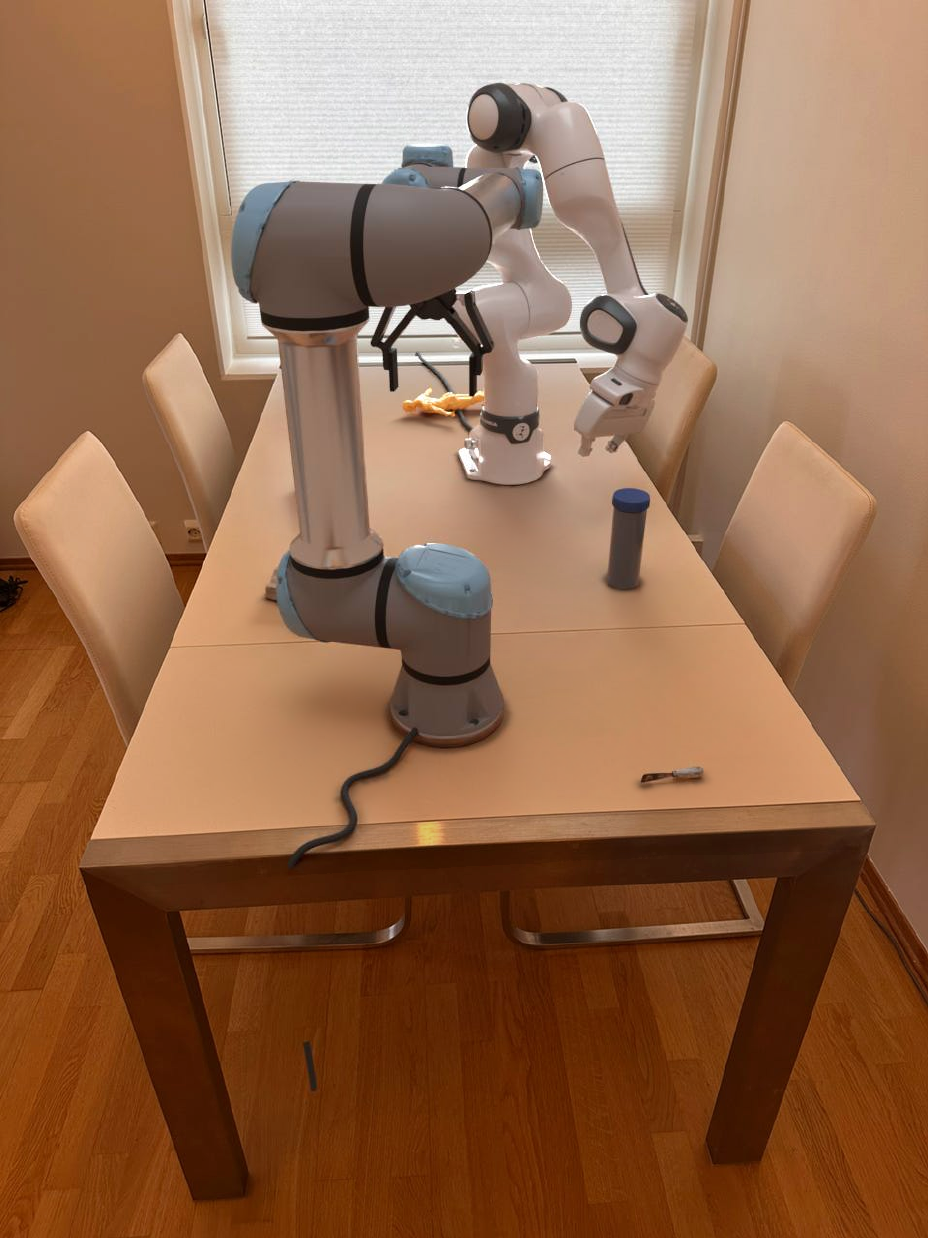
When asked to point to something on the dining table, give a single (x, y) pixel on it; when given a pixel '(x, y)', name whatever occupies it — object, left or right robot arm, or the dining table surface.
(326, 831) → the dining table surface
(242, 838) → the dining table surface
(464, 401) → the human figure
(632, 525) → the grey tall cylinder
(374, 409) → the dining table surface
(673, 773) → the putty knife
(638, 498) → the lid
